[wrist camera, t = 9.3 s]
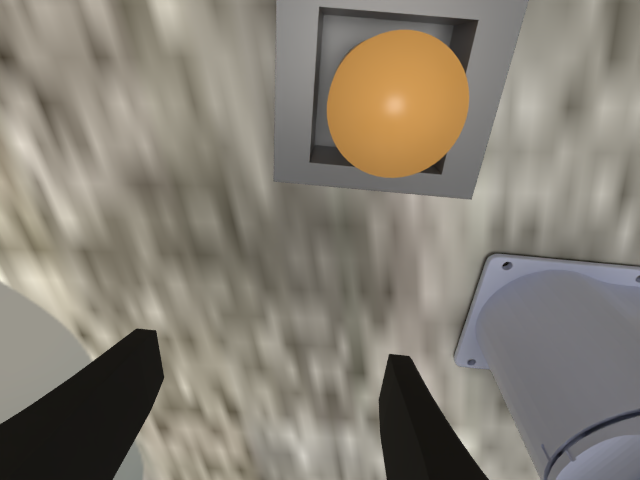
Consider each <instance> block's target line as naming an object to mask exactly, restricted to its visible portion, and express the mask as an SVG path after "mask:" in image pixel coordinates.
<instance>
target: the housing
mask: <svg viewBox="0 0 640 480" xmlns="http://www.w3.org/2000/svg"><path fill="white" fill-rule="evenodd" d="M528 1H529V0H277V4H276V65H275V125H274V181H275V182H286V183H297V184H308V185H318V186H329V187H340V188H351V189H362V190H373V191H384V192H395V193H406V194H417V195H428V196H439V197H450V198H461V199H472V196H473V192H474V189H475V185H476V182H477V178H478V175H479V171H480V168H481V165H482V161H483V158H484V154H485V151H486V147H487V144H488V140H489V137H490V133H491V130H492V126H493V123H494V119H495V116H496V112H497V109H498V105H499V102H500V98H501V95H502V92H503V88H504V85H505V81H506V78H507V74H508V71H509V67H510V64H511V60H512V57H513V53H514V50H515V46H516V43H517V39H518V36H519V32H520V29H521V25H522V22H523V19H524V15H525V12H526V8H527V5H528Z"/></svg>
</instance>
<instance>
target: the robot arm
mask: <svg viewBox="0 0 640 480" xmlns="http://www.w3.org/2000/svg"><path fill="white" fill-rule="evenodd" d="M505 262H509V264H508V265H507V266H502V265H503V264H504V263H505ZM639 275H640V267H635V266H624V265H614V264H603V263H592V262H582V261H571V260H560V259H550V258H539V257H528V256H518V255H507V254H493V255H491V256H490V257H488V258H487V260H486V263H485V266H484V269H483V272H482V275H481V278H480V281H479V283H478V286H477V289H476V292H475V295H474V298H473V301H472V304H471V307H470V310H469V313H468V316H467V319H466V322H465V325H464V328H463V331H462V334H461V337H460V340H459V343H458V346H457V349H456V352H455V355H454V361H455V363H456V365H458V366H460V367H469V368H479V369H490V370H491V372H492V374H493V377H494V379H495V381H496V383H497V385H498V388H499V390H500V392H501V394H502V396H503V398H504V401H505V403H506V405H507V407H508V409H509V411H510V414H511V416H512V418H513V420H514V422H515V425H516V427H517V429H518V431H519V433H520V435H521V438H522V440H523V442H524V444H525V446H526V448H527V451H528V453H529V455H530V457H531V459H532V462H533V464H534V466H535V468H536V470H537V472H538V475H539V477H540V479H541V480H640V277H638V276H639ZM637 277H638V278H637ZM470 359H473V360H470ZM468 360H470V361H468ZM163 379H164V374H163V368H162V362H161V356H160V350H159V344H158V339H157V333H156V331H155V330H145V329H136V330H134V331H133V332H131V333H130V334H129V335H127V336H126V337H125V338H123V339H122V340H121V341H119V342H118V343H117V344H115V345H114V346H113V347H111V348H110V349H109V350H107V351H106V352H105V353H103V354H102V355H101V356H99V357H98V358H97V359H95V360H94V361H93V362H91V363H90V364H89V365H87V366H86V367H85V368H83V369H82V370H81V371H79V372H78V373H77V374H75V375H74V376H72V377H71V378H70V379H68V380H67V381H65V382H64V383H62V384H61V385H59V386H58V387H57V388H55V389H54V390H52V391H51V392H49V393H48V394H46V395H45V396H43V397H42V398H40V399H39V400H38V401H36V402H35V403H33V404H32V405H30V406H29V407H27V408H26V409H24V410H22V411H21V412H19V413H18V414H16V415H14V416H13V417H11V418H10V419H8V420H6V421H5V422H3V423H1V424H0V480H113V478H114V476H115V474H116V472H117V471H118V469H119V467H120V465H121V464H122V462H123V460H124V458H125V456H126V455H127V453H128V451H129V449H130V447H131V445H132V444H133V442H134V440H135V438H136V437H137V435H138V433H139V431H140V429H141V428H142V426H143V424H144V422H145V420H146V418H147V417H148V415H149V413H150V411H151V409H152V406H153V404H154V402H155V399H156V397H157V395H158V392H159V390H160V387H161V384H162V382H163ZM379 418H380V435H381V443H382V449H383V456H384V463H385V470H386V476H387V480H489V479H488V478H487V477H486V475H485V474H484V473H483V471H482V470H481V469H480V467H479V466H478V465H477V463H476V462H475V461H474V459H473V458H472V457H471V455H470V454H469V452H468V451H467V449H466V448H465V447H464V445H463V444H462V442H461V441H460V439H459V438H458V436H457V435H456V433H455V432H454V430H453V429H452V427H451V426H450V424H449V423H448V421H447V420H446V418H445V416H444V415H443V413H442V412H441V410H440V408H439V407H438V405H437V404H436V402H435V400H434V399H433V397H432V395H431V393H430V392H429V390H428V388H427V386H426V385H425V383H424V381H423V379H422V378H421V376H420V374H419V372H418V370H417V368H416V366H415V364H414V362H413V360H412V359H411V358H410V356H404V355H394V354H389V357H388V361H387V366H386V370H385V375H384V379H383V384H382V388H381V392H380V397H379Z"/></svg>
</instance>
